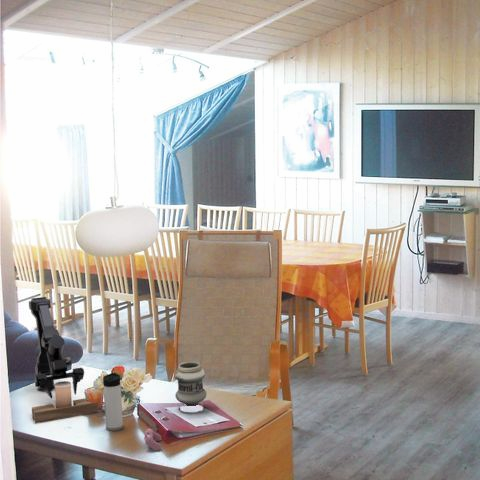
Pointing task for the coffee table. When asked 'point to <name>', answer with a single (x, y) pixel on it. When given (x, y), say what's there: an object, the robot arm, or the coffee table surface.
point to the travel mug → (113, 402)
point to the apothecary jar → (190, 383)
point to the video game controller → (152, 439)
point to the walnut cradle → (63, 411)
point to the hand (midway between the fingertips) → (63, 396)
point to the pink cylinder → (63, 394)
